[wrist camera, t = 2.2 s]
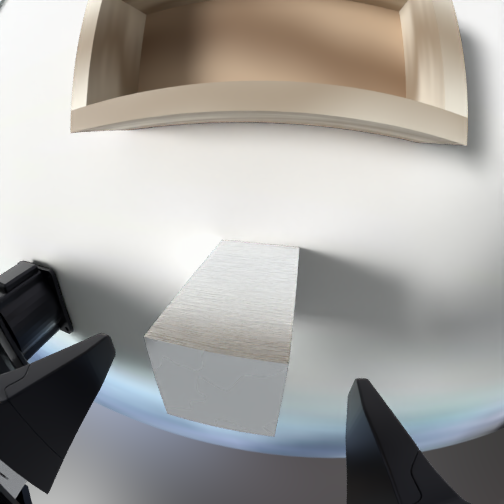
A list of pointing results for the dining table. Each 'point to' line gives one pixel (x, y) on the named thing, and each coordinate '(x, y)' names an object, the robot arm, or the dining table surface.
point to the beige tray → (273, 66)
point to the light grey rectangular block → (229, 338)
